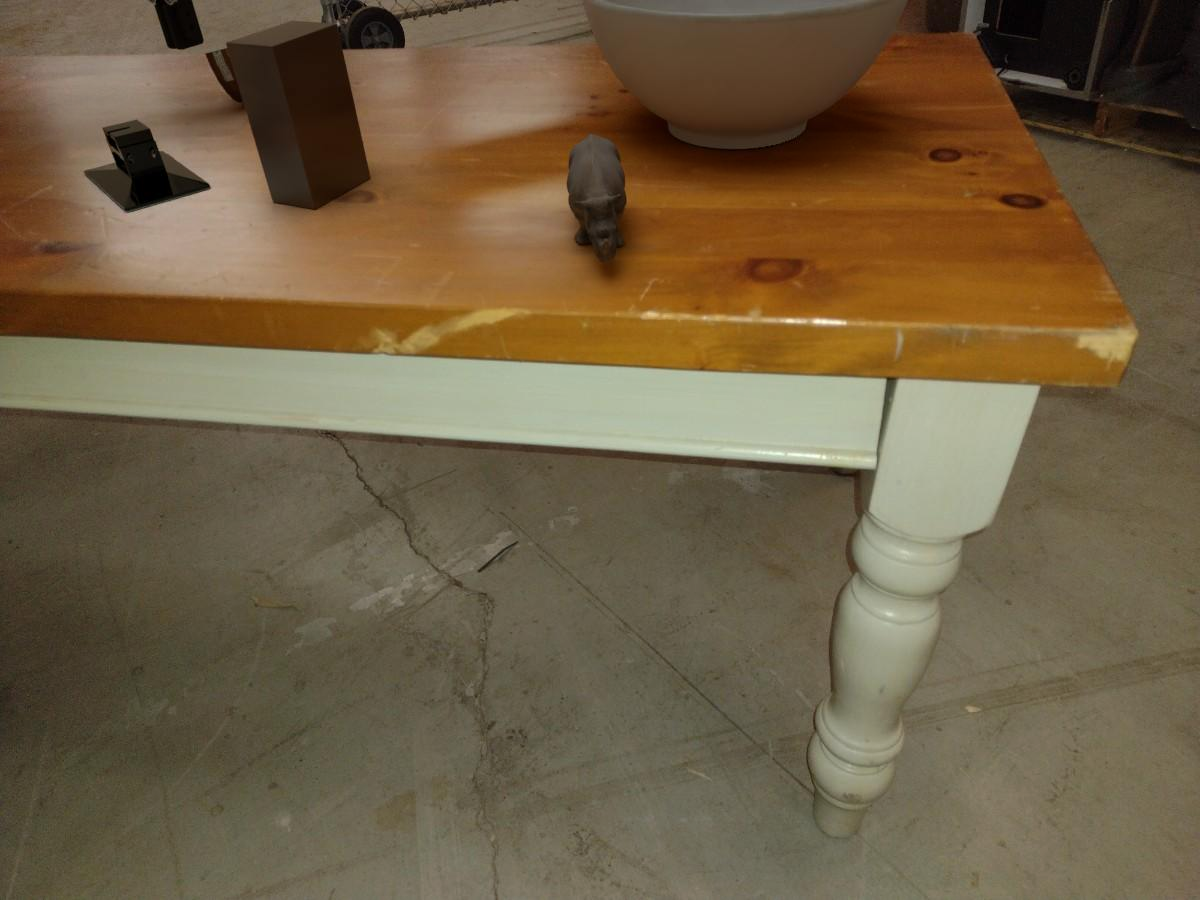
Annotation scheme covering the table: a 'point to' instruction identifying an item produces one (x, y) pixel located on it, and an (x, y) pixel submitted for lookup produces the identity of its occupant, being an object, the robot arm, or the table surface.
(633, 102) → the table surface
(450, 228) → the table surface
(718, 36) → the decorative bowl
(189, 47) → the robot arm
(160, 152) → the build plate
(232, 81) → the food container
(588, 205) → the rhino figurine
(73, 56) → the table surface
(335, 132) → the walnut block
